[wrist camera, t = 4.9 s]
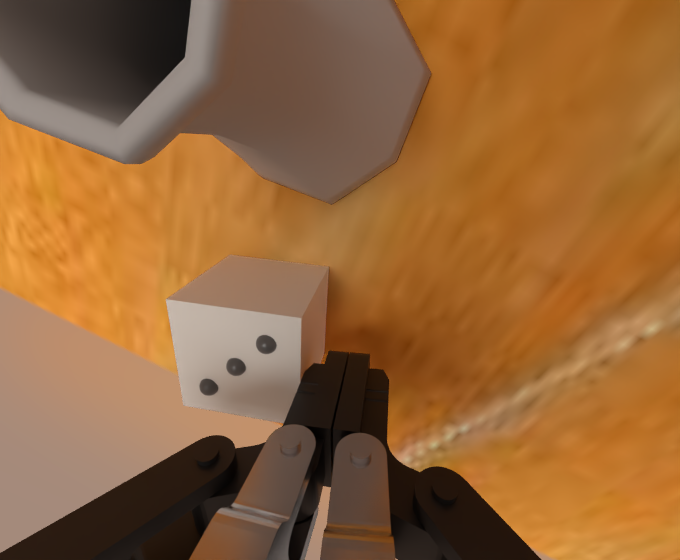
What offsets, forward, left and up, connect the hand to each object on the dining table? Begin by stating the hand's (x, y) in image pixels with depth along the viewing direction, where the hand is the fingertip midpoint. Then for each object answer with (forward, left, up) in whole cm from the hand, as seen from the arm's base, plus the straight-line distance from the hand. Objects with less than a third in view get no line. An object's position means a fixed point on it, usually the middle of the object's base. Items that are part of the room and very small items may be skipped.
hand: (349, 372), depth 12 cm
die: (+4, -1, -3) cm, 5 cm away
